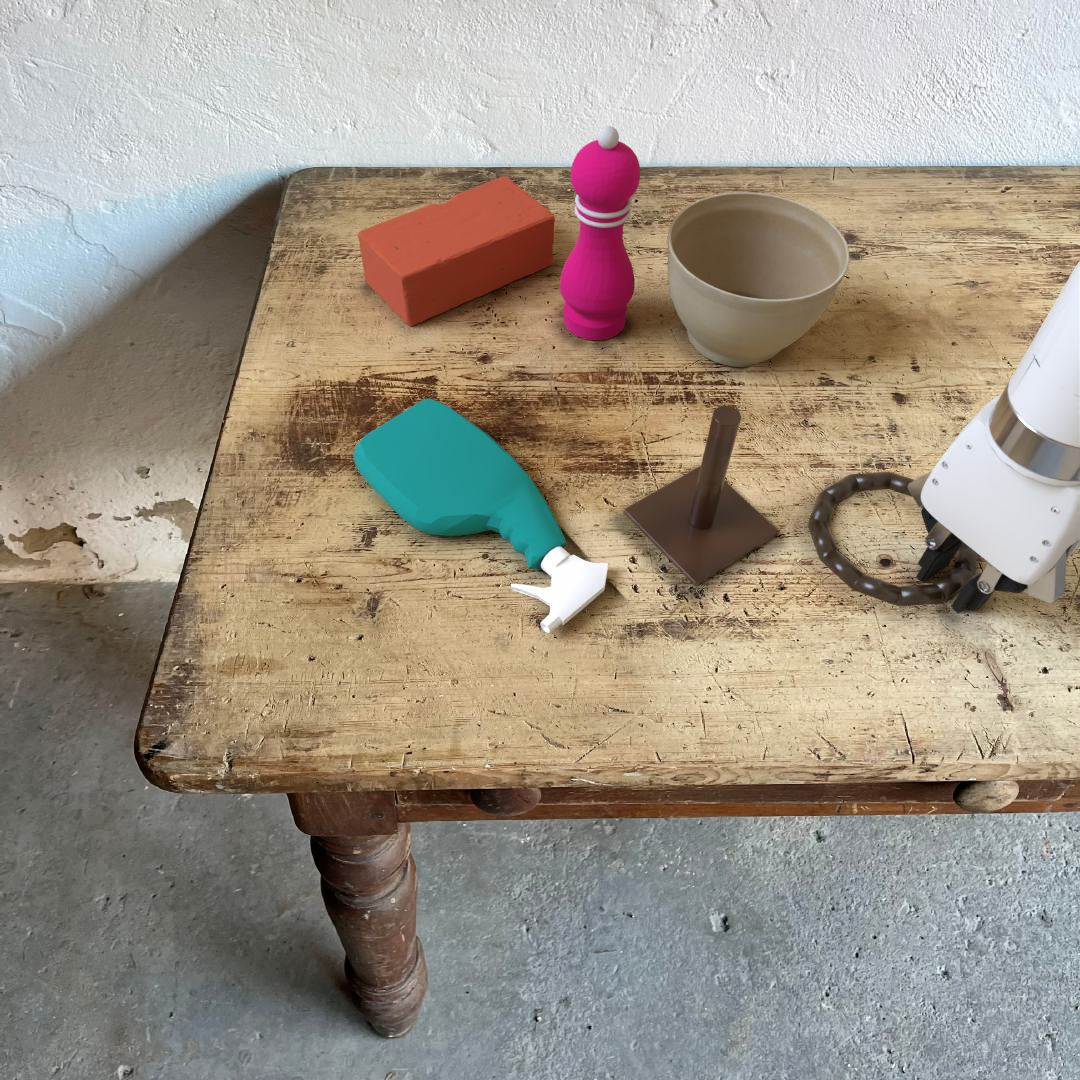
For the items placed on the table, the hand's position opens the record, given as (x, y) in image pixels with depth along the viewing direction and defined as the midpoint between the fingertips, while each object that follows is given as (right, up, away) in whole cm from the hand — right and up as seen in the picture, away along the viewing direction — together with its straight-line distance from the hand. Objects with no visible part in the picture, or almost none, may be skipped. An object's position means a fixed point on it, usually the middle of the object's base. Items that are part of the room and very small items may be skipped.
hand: (946, 589), depth 70 cm
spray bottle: (-37, +5, +4) cm, 37 cm away
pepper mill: (-27, +26, +20) cm, 42 cm away
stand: (-19, +5, +4) cm, 20 cm away
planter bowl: (-13, +24, +18) cm, 33 cm away
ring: (-3, +4, +2) cm, 6 cm away
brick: (-40, +32, +24) cm, 57 cm away
